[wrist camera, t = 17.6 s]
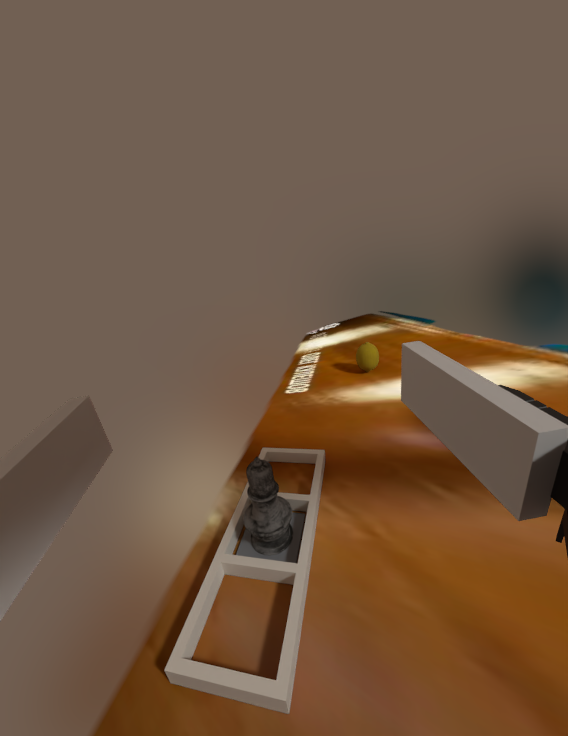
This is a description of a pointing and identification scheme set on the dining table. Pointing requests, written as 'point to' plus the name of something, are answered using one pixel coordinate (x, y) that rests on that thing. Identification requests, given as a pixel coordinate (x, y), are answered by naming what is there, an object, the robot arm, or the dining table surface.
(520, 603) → the dining table surface
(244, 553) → the pocket rack
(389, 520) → the dining table surface
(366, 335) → the dining table surface
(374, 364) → the lemon
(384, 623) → the dining table surface
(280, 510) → the dark chess piece
